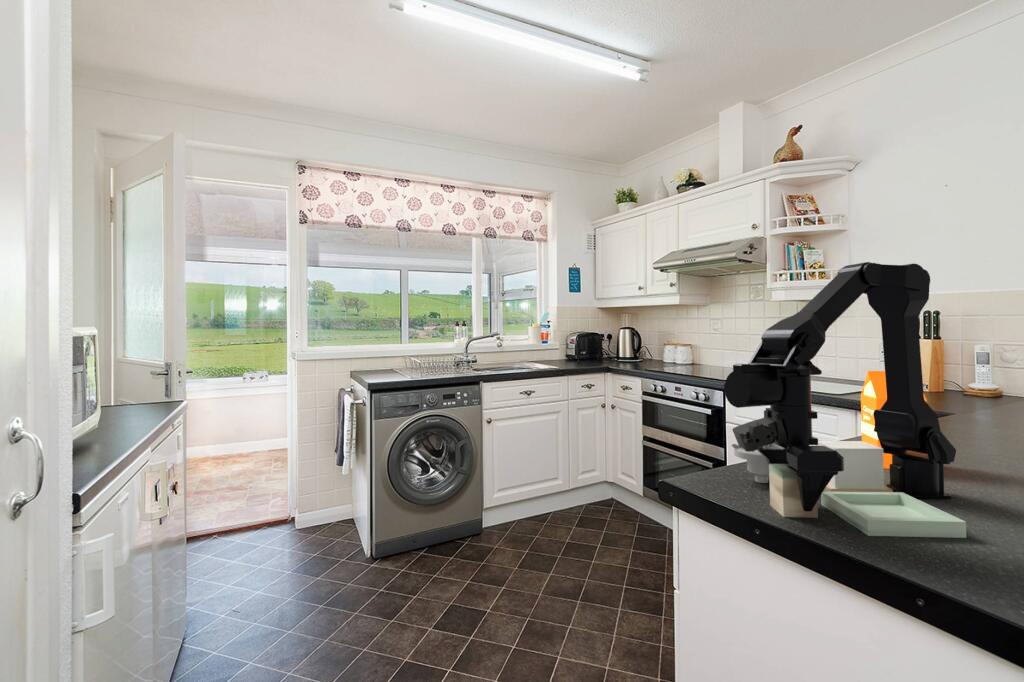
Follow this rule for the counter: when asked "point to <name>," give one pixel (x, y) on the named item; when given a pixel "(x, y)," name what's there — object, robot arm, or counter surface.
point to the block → (787, 493)
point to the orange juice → (873, 408)
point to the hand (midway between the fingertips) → (792, 500)
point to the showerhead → (754, 463)
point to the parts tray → (892, 515)
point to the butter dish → (857, 467)
